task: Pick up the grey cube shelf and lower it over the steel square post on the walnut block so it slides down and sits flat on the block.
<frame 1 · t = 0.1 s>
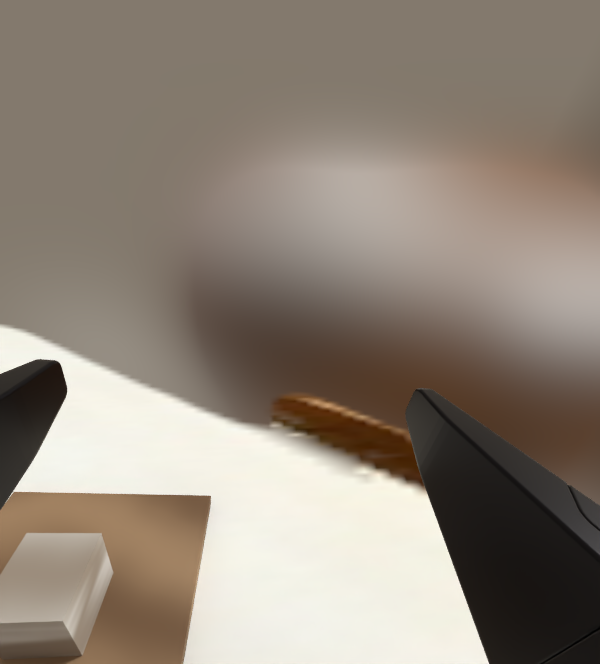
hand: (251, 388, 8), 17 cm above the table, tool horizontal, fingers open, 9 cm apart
post block: (68, 619, 16), on the table
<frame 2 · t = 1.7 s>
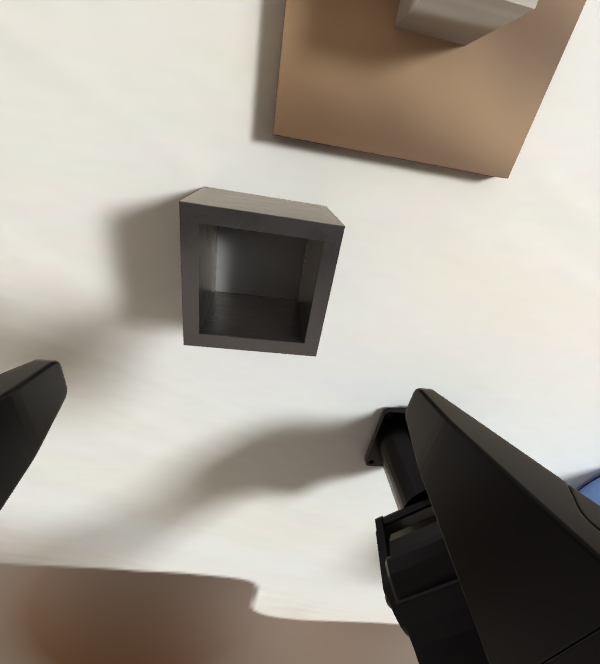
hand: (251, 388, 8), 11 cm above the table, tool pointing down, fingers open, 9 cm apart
grey cube shelf: (261, 256, 18), on the table
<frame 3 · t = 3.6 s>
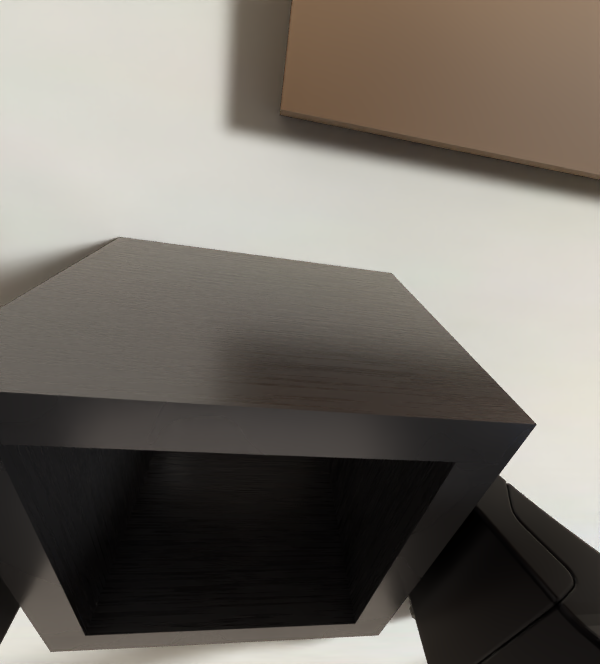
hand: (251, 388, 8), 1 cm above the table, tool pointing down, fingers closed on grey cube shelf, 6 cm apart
grey cube shelf: (253, 364, 9), on the table, touching gripper
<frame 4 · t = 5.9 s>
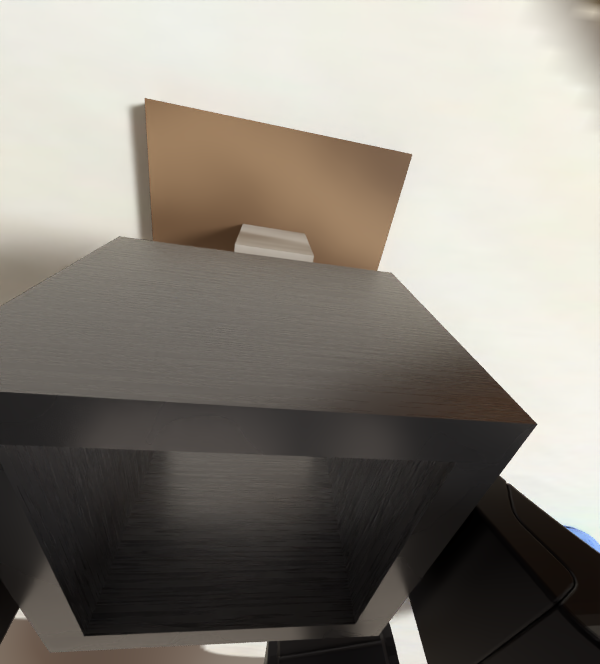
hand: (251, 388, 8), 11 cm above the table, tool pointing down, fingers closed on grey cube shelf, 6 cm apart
grey cube shelf: (252, 364, 9), point 10 cm above the table, touching gripper
post block: (270, 253, 18), on the table
when the fingers open (3 cm above the table, at t = 8.8 s): grey cube shelf drops 1 cm, resting on post block.
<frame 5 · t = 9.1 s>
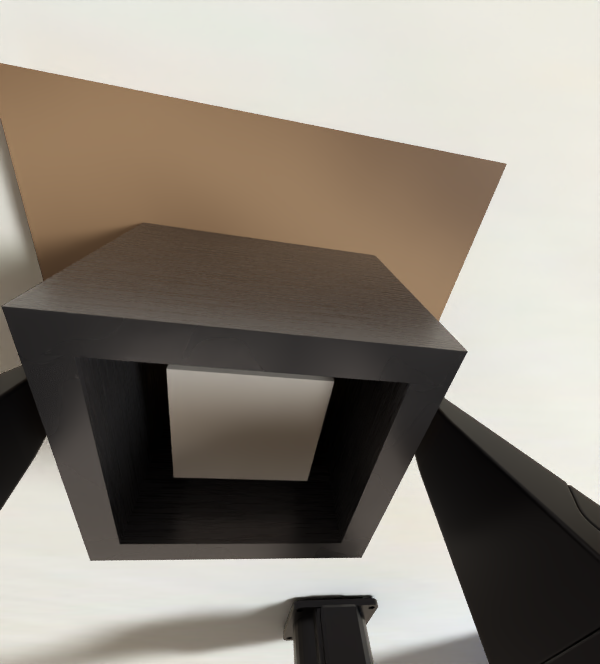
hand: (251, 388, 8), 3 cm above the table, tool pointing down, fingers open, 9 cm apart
grey cube shelf: (255, 337, 10), point 1 cm above the table, touching post block
post block: (256, 322, 11), on the table
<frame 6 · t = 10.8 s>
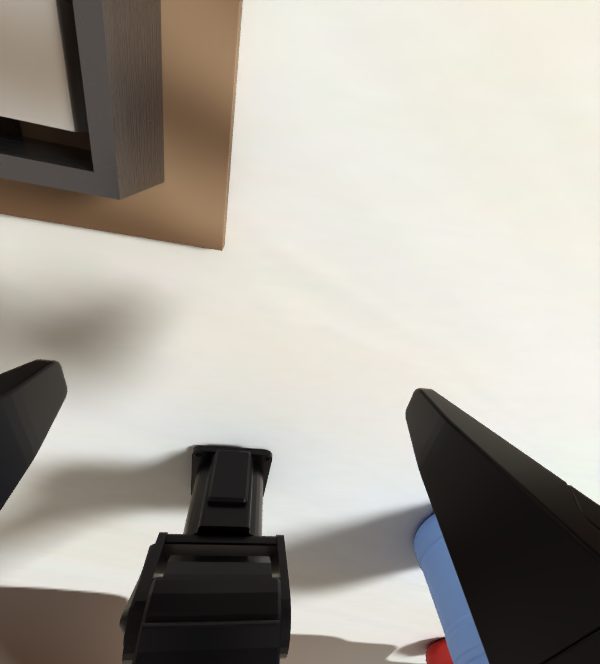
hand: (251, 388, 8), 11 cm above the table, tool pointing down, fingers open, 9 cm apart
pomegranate: (445, 640, 60), on the table
grey cube shelf: (77, 77, 12), point 1 cm above the table, touching post block
post block: (90, 81, 13), on the table
water jug: (475, 524, 37), on the table
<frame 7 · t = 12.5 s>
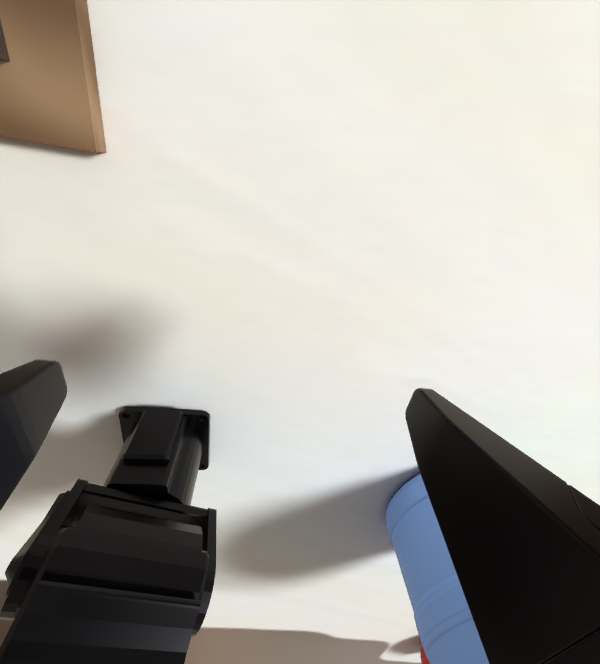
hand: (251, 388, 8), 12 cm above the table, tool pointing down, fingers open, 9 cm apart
water jug: (452, 498, 34), on the table
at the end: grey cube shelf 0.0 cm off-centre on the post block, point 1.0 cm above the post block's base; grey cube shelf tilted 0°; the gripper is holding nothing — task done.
